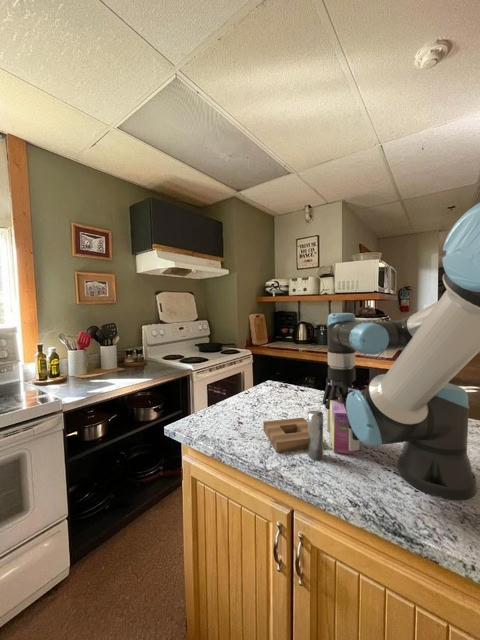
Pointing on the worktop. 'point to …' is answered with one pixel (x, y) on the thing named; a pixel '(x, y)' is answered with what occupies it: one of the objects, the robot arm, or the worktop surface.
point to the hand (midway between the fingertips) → (341, 438)
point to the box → (339, 427)
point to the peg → (315, 435)
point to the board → (287, 434)
